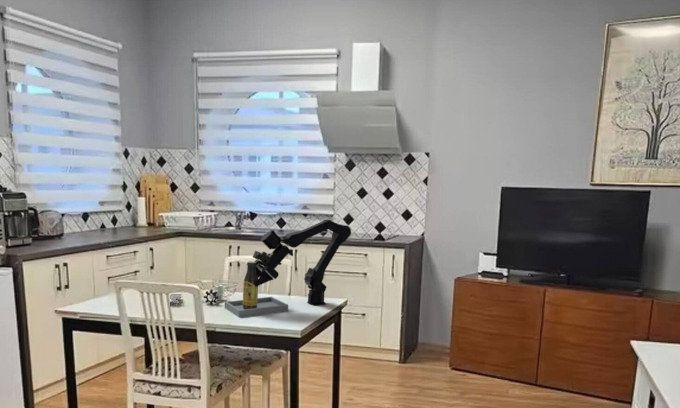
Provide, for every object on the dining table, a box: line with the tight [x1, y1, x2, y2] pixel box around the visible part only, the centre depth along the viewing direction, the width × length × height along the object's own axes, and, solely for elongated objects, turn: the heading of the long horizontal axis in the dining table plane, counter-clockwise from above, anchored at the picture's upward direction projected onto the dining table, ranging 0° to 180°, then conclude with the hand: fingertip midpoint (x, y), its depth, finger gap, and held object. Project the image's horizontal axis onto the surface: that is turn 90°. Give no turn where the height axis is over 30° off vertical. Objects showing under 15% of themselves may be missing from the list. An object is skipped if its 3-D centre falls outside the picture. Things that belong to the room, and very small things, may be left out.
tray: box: [224, 296, 289, 318], centre depth 215 cm, size 22×17×2 cm
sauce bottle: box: [242, 260, 259, 309], centre depth 213 cm, size 7×6×20 cm
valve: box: [203, 284, 224, 306], centre depth 227 cm, size 7×7×12 cm
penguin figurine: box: [170, 294, 183, 305], centre depth 225 cm, size 6×8×12 cm
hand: (252, 283), depth 213 cm, fingers open, 9 cm apart
